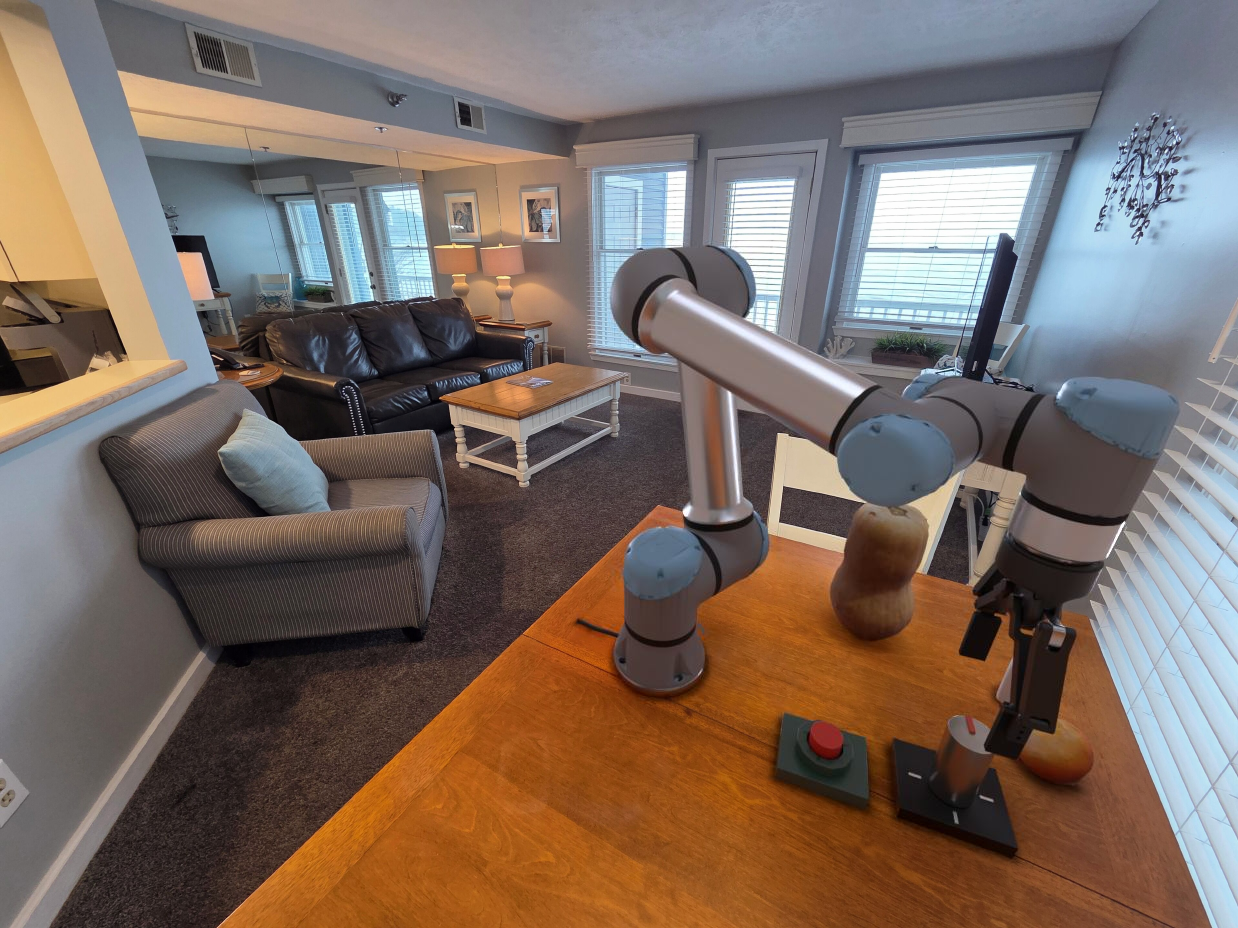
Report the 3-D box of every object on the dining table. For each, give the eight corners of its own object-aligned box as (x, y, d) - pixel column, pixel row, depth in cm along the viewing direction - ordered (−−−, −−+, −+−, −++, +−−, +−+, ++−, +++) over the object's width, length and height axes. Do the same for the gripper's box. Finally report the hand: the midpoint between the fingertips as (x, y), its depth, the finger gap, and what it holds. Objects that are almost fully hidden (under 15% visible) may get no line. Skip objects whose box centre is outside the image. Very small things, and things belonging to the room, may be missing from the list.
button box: (774, 778, 66) (778, 758, 65) (781, 721, 74) (785, 702, 72) (865, 810, 63) (871, 790, 61) (863, 747, 70) (868, 728, 68)
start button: (807, 752, 66) (810, 742, 65) (809, 727, 69) (811, 717, 68) (840, 763, 64) (843, 753, 63) (840, 737, 68) (843, 726, 67)
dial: (977, 814, 60) (1004, 758, 56) (930, 798, 62) (952, 742, 57) (968, 776, 64) (993, 721, 60) (924, 762, 66) (945, 707, 62)
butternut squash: (918, 656, 85) (959, 531, 74) (838, 655, 85) (868, 531, 75) (881, 601, 97) (912, 487, 87) (812, 601, 98) (834, 487, 87)
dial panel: (896, 817, 62) (900, 806, 61) (890, 746, 70) (893, 736, 69) (1012, 858, 58) (1018, 847, 57) (991, 778, 66) (996, 767, 65)
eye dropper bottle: (1040, 708, 75) (1070, 649, 70) (1004, 710, 75) (1031, 650, 70) (1018, 684, 79) (1045, 626, 74) (984, 686, 79) (1008, 628, 74)
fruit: (1112, 806, 61) (1089, 753, 60) (1031, 797, 66) (1009, 748, 65) (1098, 753, 67) (1078, 704, 66) (1026, 749, 72) (1006, 703, 71)
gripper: (1179, 647, 36) (1065, 823, 45) (1056, 491, 57) (995, 633, 66) (1051, 619, 38) (968, 791, 47) (978, 480, 59) (930, 618, 68)
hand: (984, 699), depth 57 cm, fingers open, 13 cm apart
